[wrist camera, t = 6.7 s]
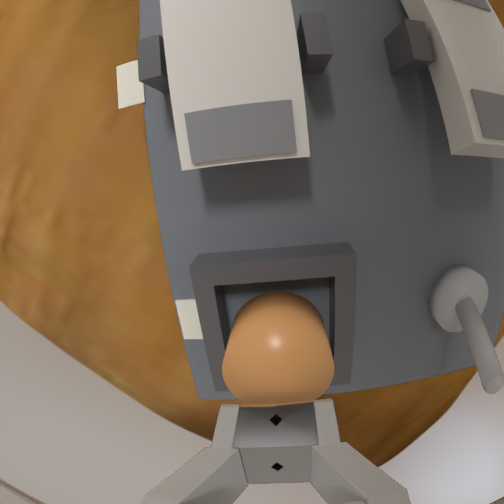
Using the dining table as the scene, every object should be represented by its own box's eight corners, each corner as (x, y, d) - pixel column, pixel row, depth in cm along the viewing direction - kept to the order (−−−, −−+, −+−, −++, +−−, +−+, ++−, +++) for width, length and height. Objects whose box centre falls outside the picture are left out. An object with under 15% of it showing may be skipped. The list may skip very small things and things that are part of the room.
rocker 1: (170, -28, 8) (155, -46, 6) (277, -45, 7) (277, -66, 6) (193, 162, 11) (180, 171, 9) (304, 150, 10) (310, 157, 9)
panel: (141, 10, 12) (60, -59, 4) (457, 4, 10) (534, -47, 2) (192, 366, 18) (152, 471, 10) (468, 336, 16) (531, 414, 8)
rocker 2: (394, -13, 8) (403, -38, 6) (466, 4, 8) (480, -16, 6) (451, 154, 8) (477, 141, 7) (523, 160, 8) (550, 151, 6)
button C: (225, 294, 11) (213, 330, 9) (324, 287, 11) (335, 322, 9) (238, 371, 12) (230, 412, 10) (324, 365, 12) (332, 407, 10)
